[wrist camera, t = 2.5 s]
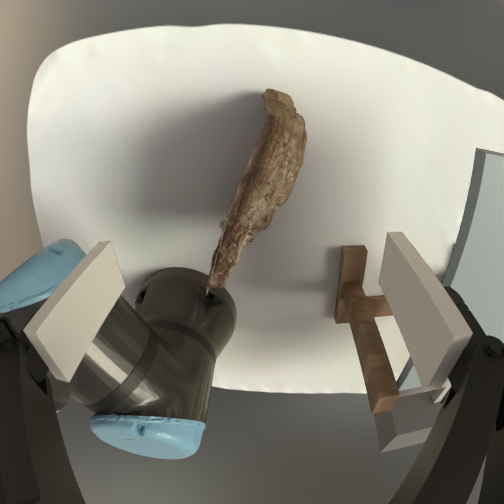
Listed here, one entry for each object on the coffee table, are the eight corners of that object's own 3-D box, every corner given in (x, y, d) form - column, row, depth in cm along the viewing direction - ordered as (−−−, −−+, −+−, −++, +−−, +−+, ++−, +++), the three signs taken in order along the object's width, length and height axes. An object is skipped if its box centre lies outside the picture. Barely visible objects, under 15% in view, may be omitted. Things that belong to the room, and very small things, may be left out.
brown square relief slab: (266, 87, 28) (265, 77, 14) (302, 100, 28) (331, 102, 15) (220, 221, 36) (192, 300, 23) (251, 231, 36) (241, 315, 23)
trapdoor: (365, 406, 32) (372, 453, 26) (449, 135, 14) (521, 174, 8) (462, 386, 31) (475, 425, 25) (565, 165, 13) (614, 200, 7)
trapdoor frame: (334, 316, 42) (357, 433, 25) (342, 246, 36) (387, 368, 20) (453, 305, 40) (502, 394, 24) (473, 242, 35) (547, 327, 18)
